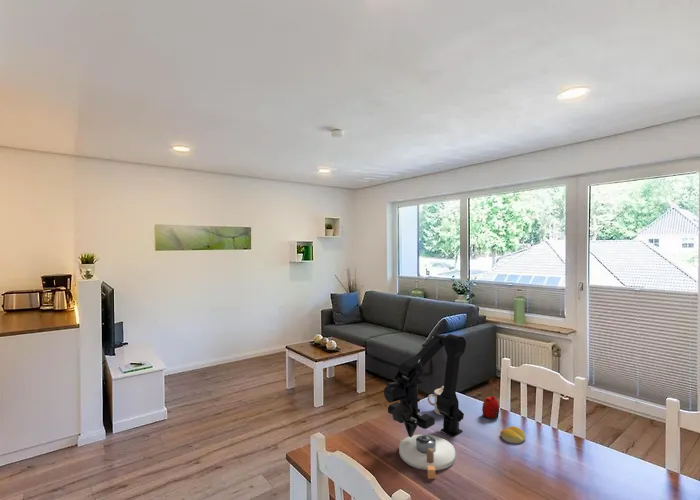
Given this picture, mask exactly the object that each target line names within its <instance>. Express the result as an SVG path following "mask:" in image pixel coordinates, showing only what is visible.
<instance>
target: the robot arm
mask: <svg viewBox="0 0 700 500" xmlns="http://www.w3.org/2000/svg"><path fill="white" fill-rule="evenodd" d="M466 346H467V340H466V339H465V337H463V336H460V335H457V334H453V333H449V334H438V333H436V334H434V335H433V337H432V339H431V340H430V341H428V343H426V345H425V346H424V347H422V349H421V350H419V352H417V353H416V354H415V355H414V356H412V357H408V358H407V359H406V360H404V361H403V362H402V363H401V364H400V365H399V368H398V370H397V372H396V374H395V376H394V379H393V381H392V382H391V381H390V382H387V383H386V384H387V385H386V386H385V387H384V390H383V395H384V398H385V400H386V402H387V403H390V404H389V405H388V406H387V413H388V414H390V415H391V416H392V420H393V421H396V422H398V424H399V423H400V424H404V427H405V429H406V432H407V435H408V437H412V436H413V435H415V431H416V430H417V427H419V428H422V429H424V430H427V429H428V428H431V427H432V426H434V425H436V423H435V421H436V420H435V417H434V416H432V415H429V414H427V413H424V414H420V413H421V409H420V408H419V405H418V404H419V402H421V398H419V397H418V396H419V395H418V394H419V393H418V388H419V387H418V385H420V384H423V381H422V380H421V379H420V377H421V376H422V374H423V372H424V369H425V366H426V365H427V363H429V362H430V360H432V359H433V357H435V356H436V354H437V353H439V351H441V349H442V348H443V347H444V351H445V353H446V365H445V370H444V371H445V373H444V382H443V386H444V388H443V392H442V393H441V394H440V395H437V402H436V405H437V409H438V410H439V412H440V414H442V415H441V416H443V422H442V423H443V424H442V425H443V426H442V427H443V428H441V429H440V432H442V433H444V434H446V435H449V436H450V437H453V438H454V437H456V436H458V435H460V434H461V433H463V430H462V429H460V422H461V421H462V420H464V415H465V413H463V411H462V410H461V409H460V407H459V399H458V397H457V386H458V376H459V375H458V374H459V367H460V360H461V359H460V358H461V357H462V356H463V355H464V353H465V351H466ZM398 401H399V402H398Z"/></svg>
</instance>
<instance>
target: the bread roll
mask: <svg viewBox="0 0 700 500" xmlns="http://www.w3.org/2000/svg"><path fill="white" fill-rule="evenodd" d="M500 436H501V438H502V440H503V441H505V442H508V443H509V444H510V443H511V444H521V443H523V442H525V440H526V434H525V432H524V431H523V430H522V429H521V428H519V427H517V426H515V425H513V426H512V425H511V426H508V427H506V428H504V429H502V430H501V431H500Z"/></svg>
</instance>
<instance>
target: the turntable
mask: <svg viewBox="0 0 700 500" xmlns="http://www.w3.org/2000/svg"><path fill="white" fill-rule="evenodd" d="M423 435H426V434H423V433H422V434H413V436H412V437H409V436H406V437H405V438H403V439H402V440H401V442H400V443H399V447H398V448H399V449H398V450H399V452H398V453H399V456H400V459H401V460H402V461H403V462H404V463H405V464H407V465H408V466H411V467H413V468H415V469H419V470H423V471H427V465H430V466H435V471H441V470H445V469H448V468H449V467H451V466H452V465H453V464H454V463H455V461H456V449H455V447H454V446H453V444H452V443H451V442H450V441H448V440H447V439H444V438H442V437H439V436H436V435H431V434H427V435H428V436H431V437H433V438H434V439H435V440H436V451H435V452H434V450H433V449H432V448H427V449H426V452H427V454H424V453H421V452H419V451H418V450H417V449H416V438H417V437H419V436H423Z"/></svg>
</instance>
